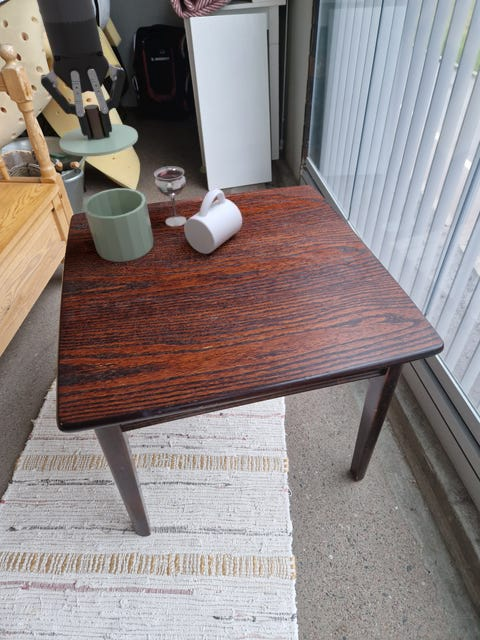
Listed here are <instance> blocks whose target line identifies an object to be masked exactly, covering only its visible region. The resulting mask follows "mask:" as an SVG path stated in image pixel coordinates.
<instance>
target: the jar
mask: <svg viewBox="0 0 480 640" xmlns="http://www.w3.org/2000/svg"><path fill="white" fill-rule="evenodd" d="M83 210H84V214H85V218H86V220H87V223H88V224H87V225H88V227H89V231H90V233H91V236H92V241H93V244H94V246H95V249H96V250H95V251H96V252H97V254H98V255H99V257H101V259H103V260H106V261H110V262H114V263H115V262H117V263H121V262H123V263H124V262H129V261H130V262H131V261H134V260H137V259H139V258H141V257H143V256H145V255H147V254H148V253H149V252H150V251H151V250H152V249H153V246H154V235H153V230H152V224H151V219H150V214H149V209H148V202H147V199H146V197H145V194H144V193H143V192H141V191H139V190H137V189H132V188H127V187H126V188H125V187H124V188H123V187H122V188H121V187H120V188H119V187H118V188H111V189H110V188H109V189H106V190H103V191H100V192H99V191H98V192H97V193H95V194H93V195H91V196H90V197H88V198H87V199H86V200H85V203H84V204H83Z"/></svg>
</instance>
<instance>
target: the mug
mask: <svg viewBox="0 0 480 640" xmlns="http://www.w3.org/2000/svg"><path fill="white" fill-rule="evenodd" d="M216 198H217V199H216ZM215 199H216V200H215ZM242 216H243V215H242V212H241V211H240V209H239V207H238V206H237V205H236V204H235V203H234V202H233V201H232V200H230V199H228V198H226V196H225V193H224V191H222V190H221V189H220V188H212V189H210V190H209V191H208V192H207V193H206V195H205V196H204V198H203V200H202V202H201V205H200V209H199V211H198V212H197V213H195V214H194V215H192V216H191V217H189V218H188V219H186V222H185V223H184V224H183V225H184V226H183V232H184V235H185V238H186V240H187V242H188V243H189V245H190V246H191V247H192V249H194V250H195V251H197V252H198V253H201V254H204V255H208V254H212V253H213V252H214V251H215V250H217V248H219V247H220V246H221V245H222V244H224V243H225V242H226V241H228V240H229V239H230V238H232V237H233V236H234V235H235V234H236V233H238V232H239V231H240V230H241V229H242V227H243V217H242Z"/></svg>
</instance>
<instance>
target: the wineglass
mask: <svg viewBox="0 0 480 640" xmlns="http://www.w3.org/2000/svg"><path fill="white" fill-rule="evenodd" d="M184 174H185V170H184V169H183V168H182V167H179V166H173V165H171V166H170V165H168V166H163V167H160V168H158V169H156V170H155V171H154V173H153V175H154V177H155V180H154V183H155V184H154V185H155V187H156V189H157V190H158V192H159V193H161V194H162V195H164V196H166V197H169V198H170V199H171V200H170V201H171V205H172V210H173V215H172V216H169V217H168V218H166V220H165V224H166V225H167V226H169V227H182V226H183V225H185V222H186V221H187V218H186V217H185V216H183V215H177V212H176V211H177V210H176V209H177V208H176V201H175V198H176V196H178V195H180V194H181V193H182V192H183V190H185V188H186V183H187V182H186V177H185V175H184Z"/></svg>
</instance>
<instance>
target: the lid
mask: <svg viewBox="0 0 480 640" xmlns="http://www.w3.org/2000/svg"><path fill="white" fill-rule="evenodd" d="M83 108H84V113H85V114H86V117H87V121H88V125H89V129H90V132H91V136H92V139H88V137H87V136H84V135H83V134H82V131H81V127H78V128H75V129H73V130H70V131H68V132H66V133H65V134H64V135H62V136H61V138H60V139H59V140H58V141H59V142H58V144H59V148H60V149H61V150H62V151H63V152H64V153H66V154H68V155H71V156H77V157H101V156H107V155H112V154H116V153H119V152H122V151H124V150H127V149H129V148H131V147H132V146H134V145H135V144H136V143H137V142H138V139H139V133H138V131H137V130H136V129H135V128H134V127H132V126H129V125H126V124H121V123H111V126H112V132H109V135H110V136H105V132H104V127H103V123H102V119H101V115H100V107H99V104H87V105H84V106H83Z"/></svg>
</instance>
